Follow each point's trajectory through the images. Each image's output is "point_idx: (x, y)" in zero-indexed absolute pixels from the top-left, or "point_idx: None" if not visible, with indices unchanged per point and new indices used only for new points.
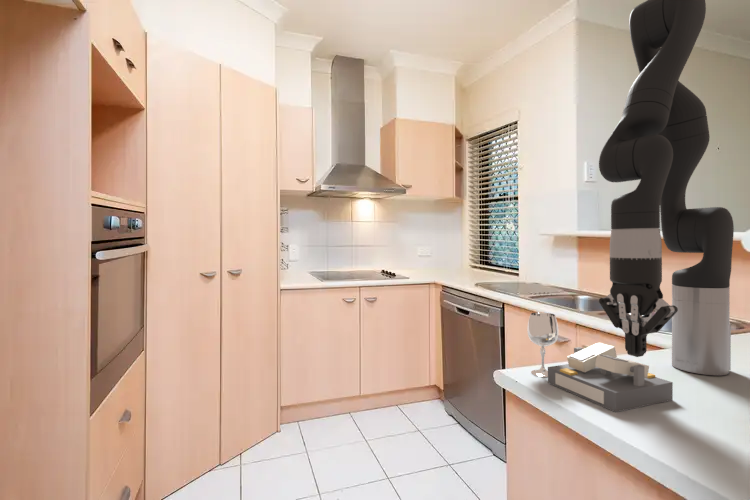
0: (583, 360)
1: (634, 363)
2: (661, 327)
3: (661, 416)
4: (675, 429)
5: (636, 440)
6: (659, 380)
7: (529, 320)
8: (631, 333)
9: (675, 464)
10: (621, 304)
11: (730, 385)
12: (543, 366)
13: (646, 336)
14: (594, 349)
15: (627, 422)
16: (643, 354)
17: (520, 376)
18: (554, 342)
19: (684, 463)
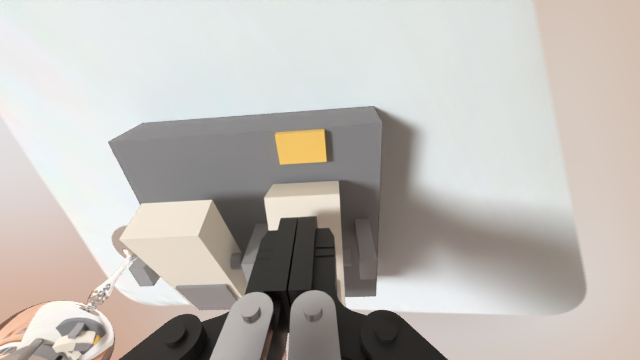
0: None
1: (342, 260)
2: (438, 356)
3: (421, 212)
4: (465, 235)
5: (451, 302)
6: (354, 146)
7: None
8: (288, 330)
9: (513, 309)
10: None
11: None
12: (132, 261)
13: (335, 292)
14: (183, 269)
15: (407, 274)
16: (315, 217)
17: (161, 287)
18: (100, 318)
19: (520, 300)
